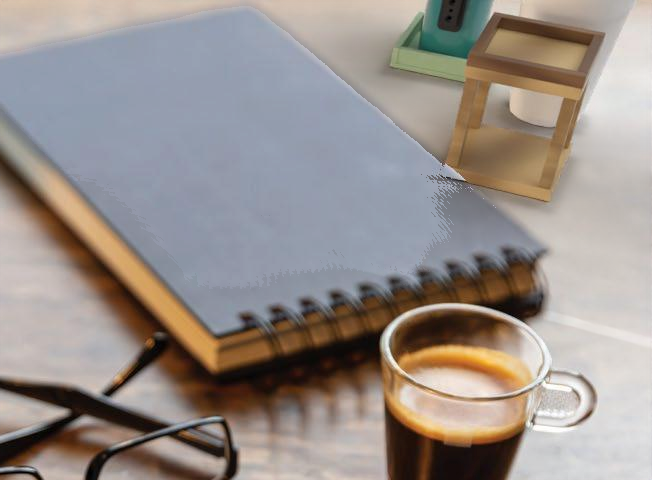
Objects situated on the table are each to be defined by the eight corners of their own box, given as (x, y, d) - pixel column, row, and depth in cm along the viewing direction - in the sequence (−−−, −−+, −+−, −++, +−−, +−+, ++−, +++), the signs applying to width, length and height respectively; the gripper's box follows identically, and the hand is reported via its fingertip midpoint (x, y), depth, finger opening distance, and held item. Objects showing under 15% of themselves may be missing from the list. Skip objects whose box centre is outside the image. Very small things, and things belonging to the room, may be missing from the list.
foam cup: (470, 107, 120) (504, -33, 112) (529, 78, 125) (566, -60, 116) (561, 146, 115) (604, 2, 106) (619, 114, 119) (664, -27, 110)
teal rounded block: (486, 47, 129) (506, -35, 123) (472, 71, 125) (491, -12, 119) (426, 35, 131) (442, -46, 125) (409, 58, 127) (426, -24, 121)
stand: (569, 153, 114) (606, 32, 106) (549, 202, 108) (586, 77, 100) (465, 130, 117) (494, 11, 110) (440, 176, 111) (468, 53, 104)
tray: (507, 48, 129) (512, 29, 128) (485, 86, 123) (490, 66, 122) (415, 30, 133) (419, 11, 131) (389, 66, 126) (393, 47, 125)
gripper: (525, -139, 108) (479, 54, 119) (559, -186, 118) (513, -3, 129) (434, -153, 111) (397, 37, 122) (475, -197, 120) (437, -18, 131)
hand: (457, 16), depth 125 cm, fingers closed on teal rounded block, 6 cm apart
